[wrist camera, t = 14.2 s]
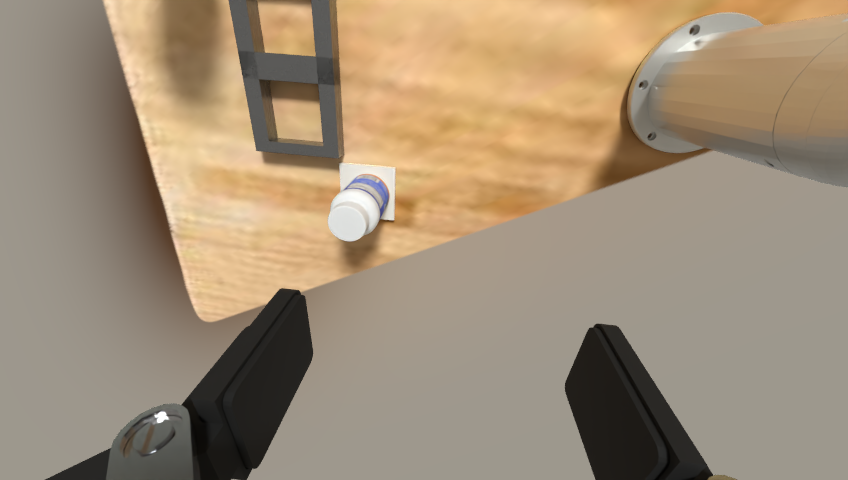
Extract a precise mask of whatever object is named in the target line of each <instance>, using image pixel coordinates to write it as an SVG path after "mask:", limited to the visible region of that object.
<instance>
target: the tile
mask: <svg viewBox="0 0 848 480" xmlns="http://www.w3.org/2000/svg"><path fill="white" fill-rule="evenodd" d="M339 170H340V186H341V191H342V190H343V189H344V188H345V187H346V186H347V185H348V184H349V183H350V182H351V181H352V180H353V179H354V178H355V177H357V176H358V175H361V174H374V175H376V176H378V177H380V178H381V179H382V180H383V181H384V182H385V183H386V185H387V187H388V189H389V193H390V198H389V202H388V205H387V207H386V209H385V211H384V213H383V214H382V216H381V218H380V219H385V220H394V219H395V189H396V167H388V166H377V165H366V164H355V163H344V162H340V163H339Z"/></svg>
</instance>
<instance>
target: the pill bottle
mask: <svg viewBox="0 0 848 480" xmlns="http://www.w3.org/2000/svg"><path fill="white" fill-rule="evenodd" d="M389 198H390V193H389V189H388V187H387V185H386V183H385V182H384V181H383V180H382V179H381V178H380V177H378V176H376V175H374V174H361V175H358V176H357V177H355V178H354V179H353V180H352V181H351V182H350V183H349V184H348V185H347V186H346V187H345V188H344V189H343V190H342V191H341V192H340V193H339V194H338V195H337V196H336V197H335V198H334V200H333V201H332V204H331V208H330V214H329V216H328V226H329V229H330V230H331V232H332V233H333V234H334V235H335V236H336V237H337V238H339V239H341V240H344V241H356V240H358V239H360V238H361V237H362V236H364V235H367V234H369V233H370V232H372V231H373V230H374V229H375V227H376V226H377V224H378V222H379V220H380V218H381V216H382V214H383V213H384V211H385V209H386V207H387V205H388V202H389Z"/></svg>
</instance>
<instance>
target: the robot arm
mask: <svg viewBox="0 0 848 480" xmlns="http://www.w3.org/2000/svg"><path fill="white" fill-rule="evenodd" d="M690 29H691V32H690V33H689V31H690ZM640 82H641V86H640V87H639V84H640ZM627 114H628V120H629V124H630V126H631V128H632V130H633V132H634V133H635V135H636V136H637V137H638V139H639V140H641V141H642V142H643V143H645V144H646V145H647V146H650V147H652V148H654V149H656V150H660V151H663V152H668V153H686V152H692V151H696V150H699V149H703V148H708V149H711V150H714V151H718V152H722V153H724V154H728V155H731V156H734V157H738V158H741V159H744V160H748V161H751V162H754V163H757V164H761V165H764V166H767V167H771V168H774V169H777V170H780V171H784V172H787V173H790V174H794V175H797V176H800V177H805V178H808V179H811V180H815V181H818V182H821V183H826V184H831V185H835V186H841V187H848V13H845V14H838V15H831V16H825V17H818V18H811V19H805V20H798V21H791V22H785V23H778V24H771V25H765V26H764V25H763V24H762V23H760V22H759V21H758V20H757V19H755V18H753V17H751V16H749V15H746V14H741V13H736V12H726V13H716V14H711V15H706V16H703V17H700V18H697V19H694V20H691V21H689V22H687V23H686V24H684V25H682V26H680V27H678V28H676V29H675V30H674V31H672V32H671V33H670V34H668V35H667V36H665V37H664V38H663V39H662V40H661V41H660V42H659V43H658V44H657V45H656V46H655V47H654V48H653V49H652V50H651V51H650V52H649V54H648V55H647V56H646V58H645V59H644V60H643V61H642V63H641V65H640V67H639V68H638V70H637V72H636V74H635V76H634V78H633V81H632V83H631V86H630V89H629V94H628V99H627ZM649 134H650V135H649ZM648 135H649V136H648ZM312 357H313V348H312V341H311V334H310V327H309V320H308V313H307V306H306V299H305V296H304V295H301V293H300V291H299V290H292V289H283V288H282V289H280V290H279V291H278V292H277V293H276V294H275V295H274V297H273V298H272V299H271V300H270V301H269V303H268V304H267V305H266V306H265V308H264V309H263V310H262V311H261V313H260V314H259V315H258V316H257V318H256V319H255V320H254V321H253V323H252V324H251V325H250V326H248V327H246V328H245V329H244V330H243V331H242V332H241V333H240V334H239V335H238V337H237V338H236V339H235V340H234V342H233V343H232V344H231V345H230V346H229V348H228V349H227V350H226V351H225V352H224V354H223V355H222V356H221V357H220V359H219V360H218V361H217V362H216V363H215V365H214V366H213V367H212V368H211V369H210V371H209V372H208V373H207V374H206V376H205V377H204V378H203V379H202V380H201V382H200V383H199V384H198V385H197V387H196V388H195V389H194V390H193V391H192V393H191V394H190V395H189V396H188V397H187V399H186V400H185V401H184V402H183V404H182V405H179V404H163V405H160V406H157V407H154V408H151V409H149V410H147V411H145V412H143V413H141V414H140V415H138V416H137V417H136V418H134V419H133V420H131V421H130V422H129V423H128V424H127V425H126V426H125V427H124V428H123V429H122V430H121V431H120V432H119V434H118V436H117V437H116V438H115V439H114V441H113V444H112V447H111V448H110V449H108V450H106V451H104V452H101V453H99V454H97V455H95V456H93V457H91V458H89V459H87V460H85V461H83V462H81V463H79V464H77V465H75V466H73V467H70V468H68V469H66V470H64V471H62V472H60V473H58V474H56V475H54V476H52V477H50V478H48V479H46V480H231V479H238V480H247V478H248V476H249V474H250V472H251V470H252V468H253V469H255V468H257V467H258V466H259V465H260V463H261V462H262V460H263V458H264V456H265V454H266V452H267V450H268V447H269V445H270V444H271V441H272V440H273V437H274V435H275V434H276V432H277V430H278V427H279V425H280V423H281V421H282V419H283V417H284V415H285V413H286V411H287V409H288V407H289V405H290V403H291V401H292V399H293V397H294V395H295V393H296V391H297V389H298V387H299V385H300V383H301V381H302V379H303V377H304V375H305V373H306V371H307V369H308V367H309V365H310V363H311V361H312ZM565 392H566V395H567V398H568V401H569V404H570V407H571V410H572V413H573V416H574V418H575V421H576V424H577V427H578V430H579V433H580V436H581V439H582V442H583V444H584V448H585V450H586V453H587V456H588V459H589V462H590V465H591V467H592V471H593V474H594V476H595V479H596V480H737V479H735V478H732V477H728V476H725V475H714V476H713V474H712V473H711V471H710V470H709V468H708V466H707V464H706V463H705V461H704V459H703V458H702V456H701V455H700V453H699V452H698V450H697V449H696V447H695V446H694V444H693V442H692V441H691V439H690V438H689V436H688V434H687V433H686V431H685V430H684V428H683V427H682V425H681V423H680V422H679V420H678V419H677V417H676V416H675V414H674V413H673V411H672V409H671V408H670V406H669V405H668V403H667V402H666V400H665V399H664V397H663V395H662V394H661V392H660V391H659V389H658V388H657V386H656V384H655V383H654V381H653V380H652V378H651V377H650V375H649V374H648V372H647V371H646V369H645V367H644V366H643V364H642V363H641V361H640V359H639V358H638V356H637V355H636V353H635V352H634V350H633V349H632V347H631V345H630V344H629V343H628V341H627V339H626V338H625V336H624V335H623V333H622V331H621V330H620V329H619V327H617V326H614V325H605V324H596V325H595V326H594V327H593V328H589V330H588V332H587V334H586V336H585V338H584V340H583V343H582V345H581V347H580V350H579V352H578V354H577V357H576V359H575V361H574V364H573V366H572V368H571V371H570V373H569V375H568V377H567V380H566V383H565Z"/></svg>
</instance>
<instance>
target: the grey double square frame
mask: <svg viewBox="0 0 848 480" xmlns="http://www.w3.org/2000/svg"><path fill="white" fill-rule="evenodd" d="M311 4H312V16H313V28H314V40H315V52H316V57H313V56H300V55H287V54H274V53H265V52H264V45H263V38H262V32H261V25H260V18H259V12H258V5H257V0H229V5H230V10H231V16H232V21H233V27H234V32H235V37H236V43H237V48H238V54H239V59H240V64H241V70H242V75H243V81H244V86H245V91H246V97H247V102H248V107H249V113H250V118H251V124H252V129H253V134H254V140H255V145H256V151H264V152H274V153H285V154H296V155H307V156H318V157H329V158H340V157H341V156H343V155H344V142H343V123H342V105H341V86H340V67H339V48H338V30H337V11H336V0H311ZM269 80H276V81H288V82H300V83H313V84H318V88H319V100H320V111H321V123H322V135H323V142H314V141H303V140H292V139H281V138H277V131H276V125H275V118H274V111H273V105H272V98H271V91H270V85H269Z"/></svg>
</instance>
